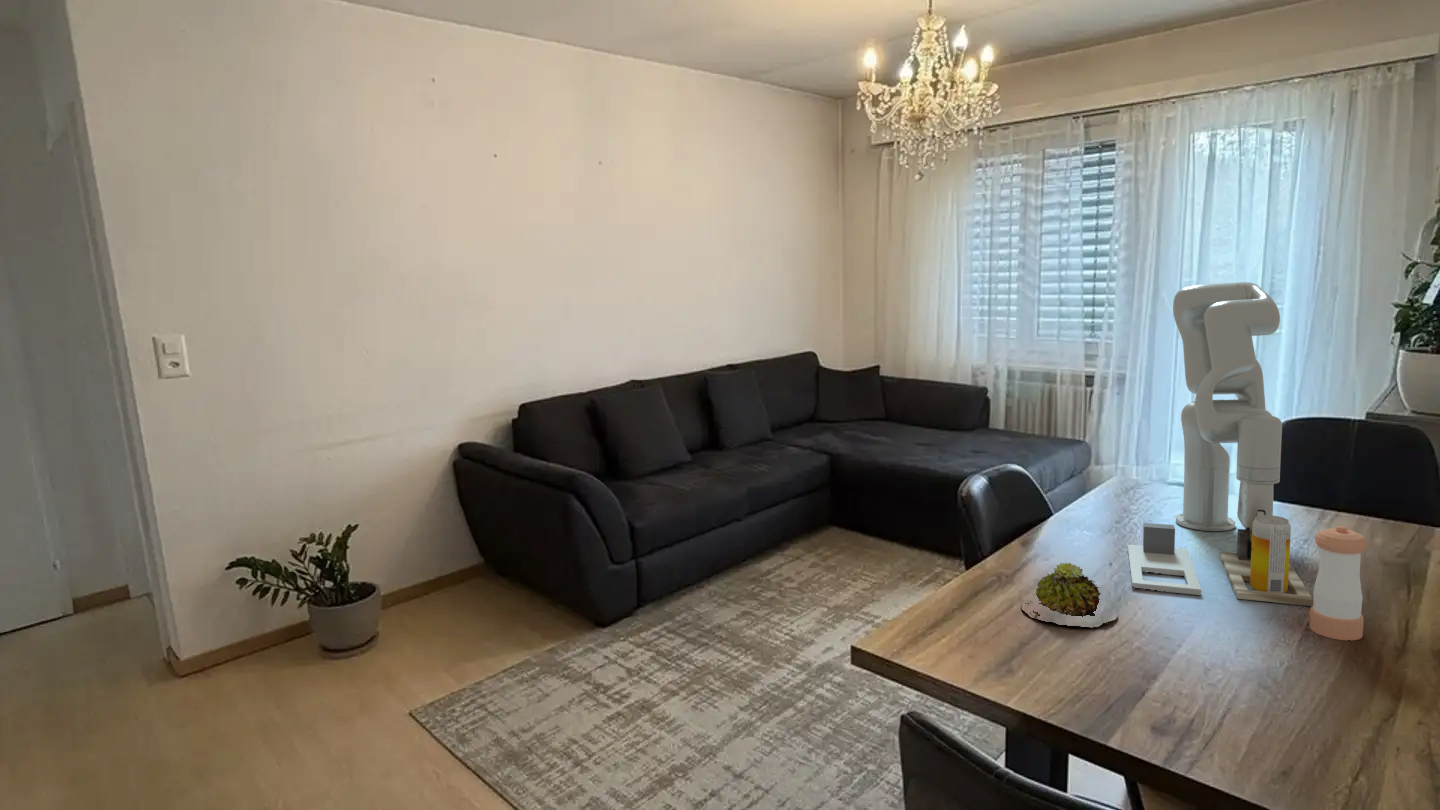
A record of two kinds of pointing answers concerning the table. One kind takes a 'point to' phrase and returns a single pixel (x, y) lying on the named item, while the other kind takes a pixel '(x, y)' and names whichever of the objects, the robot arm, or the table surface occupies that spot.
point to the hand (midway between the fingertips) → (1254, 555)
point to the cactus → (1068, 591)
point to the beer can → (1270, 554)
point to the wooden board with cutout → (1239, 572)
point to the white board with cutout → (1162, 561)
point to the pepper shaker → (1338, 585)
